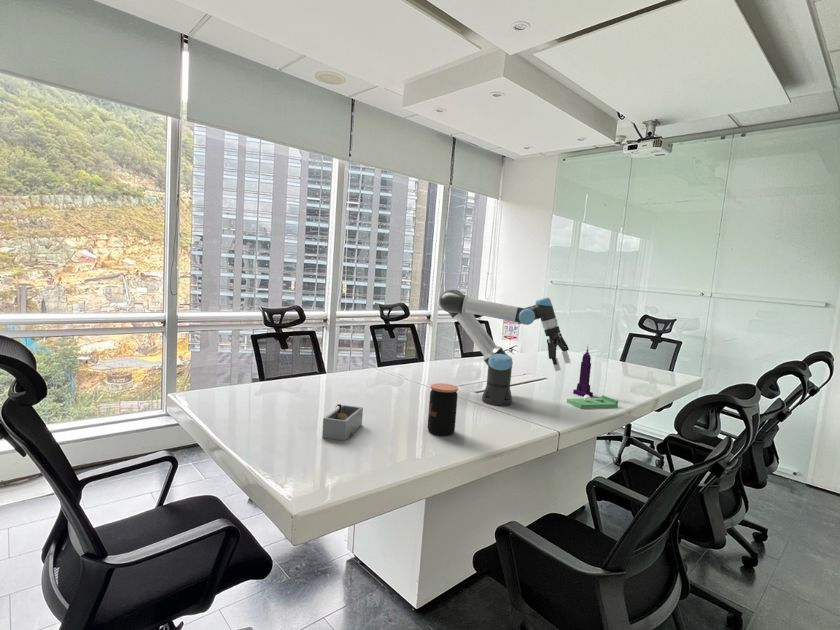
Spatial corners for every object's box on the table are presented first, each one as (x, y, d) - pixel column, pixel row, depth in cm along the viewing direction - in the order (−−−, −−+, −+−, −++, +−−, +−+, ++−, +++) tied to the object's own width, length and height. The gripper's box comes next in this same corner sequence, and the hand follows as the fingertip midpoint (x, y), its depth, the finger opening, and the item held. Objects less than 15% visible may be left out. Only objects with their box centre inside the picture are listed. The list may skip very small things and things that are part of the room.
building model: (572, 393, 257) (578, 341, 254) (580, 392, 260) (585, 341, 257) (585, 397, 249) (590, 344, 247) (592, 396, 252) (598, 343, 250)
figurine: (328, 423, 174) (330, 401, 173) (339, 422, 176) (341, 400, 175) (341, 436, 162) (344, 413, 161) (353, 435, 164) (355, 412, 163)
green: (580, 408, 224) (581, 401, 224) (566, 402, 235) (567, 396, 235) (617, 407, 232) (618, 401, 232) (602, 401, 242) (603, 395, 242)
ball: (583, 401, 231) (584, 395, 230) (582, 400, 234) (583, 393, 234) (590, 402, 230) (591, 396, 230) (589, 401, 233) (590, 394, 233)
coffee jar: (427, 426, 181) (430, 382, 179) (453, 428, 180) (457, 384, 179) (427, 435, 170) (430, 388, 169) (455, 437, 170) (458, 391, 168)
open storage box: (322, 437, 160) (323, 418, 160) (341, 422, 178) (342, 404, 178) (344, 440, 158) (346, 421, 158) (361, 424, 177) (362, 407, 176)
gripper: (548, 331, 219) (560, 372, 219) (566, 320, 238) (578, 359, 238) (534, 334, 224) (546, 374, 224) (553, 323, 243) (565, 361, 243)
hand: (563, 366), depth 231 cm, fingers open, 13 cm apart
